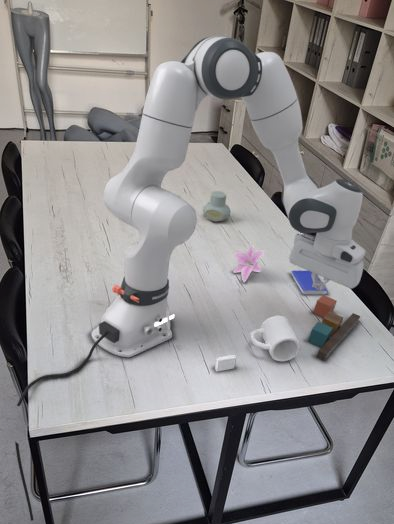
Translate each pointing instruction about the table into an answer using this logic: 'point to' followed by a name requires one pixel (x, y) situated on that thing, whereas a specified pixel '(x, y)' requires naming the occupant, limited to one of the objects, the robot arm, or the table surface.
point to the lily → (248, 262)
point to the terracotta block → (324, 306)
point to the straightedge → (338, 337)
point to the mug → (277, 338)
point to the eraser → (225, 363)
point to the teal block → (320, 334)
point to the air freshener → (217, 207)
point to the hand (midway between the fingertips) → (317, 288)
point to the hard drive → (306, 282)
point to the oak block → (333, 321)
